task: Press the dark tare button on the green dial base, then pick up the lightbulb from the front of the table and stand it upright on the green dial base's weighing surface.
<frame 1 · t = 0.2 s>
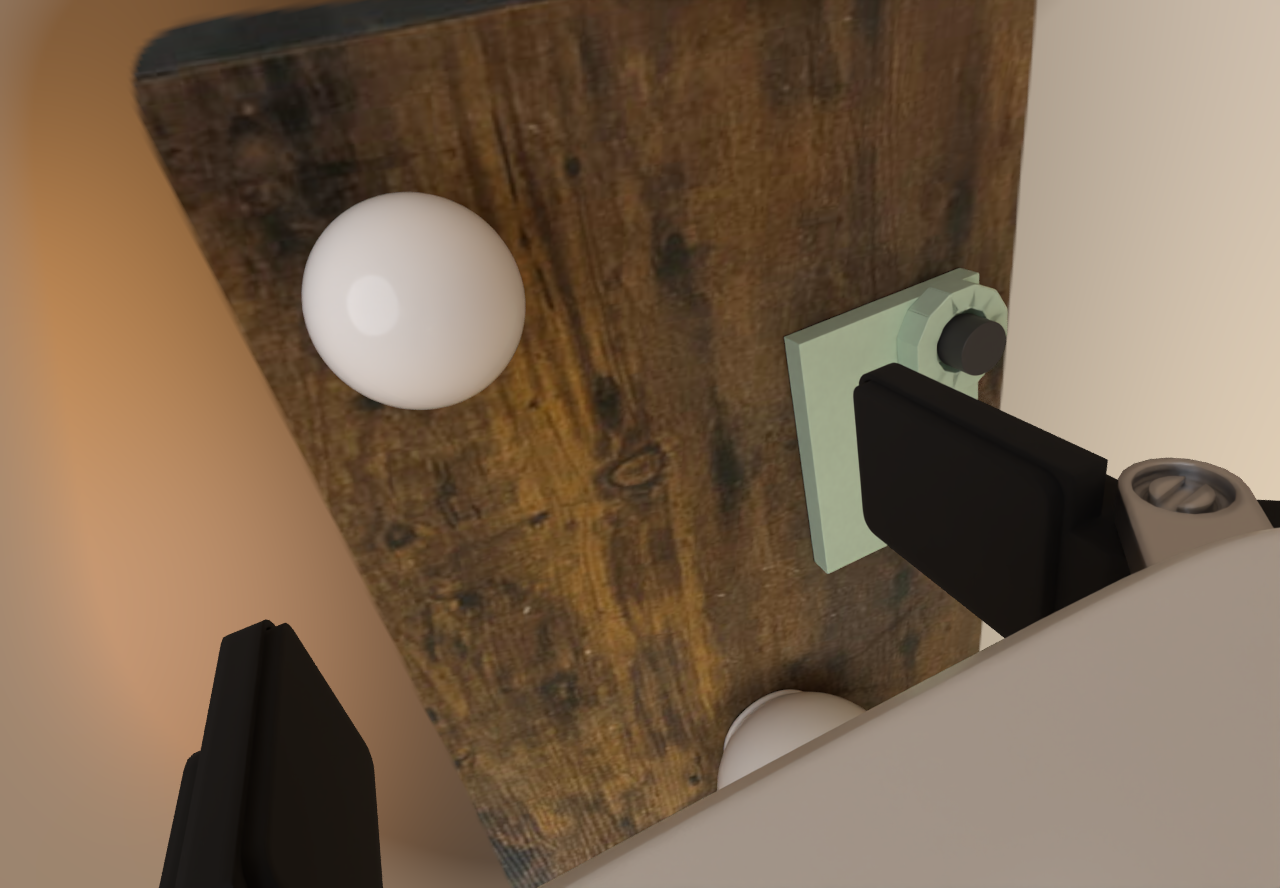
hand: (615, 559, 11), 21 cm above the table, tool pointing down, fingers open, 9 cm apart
lidded bowl: (769, 729, 49), on the table
green dial base: (882, 423, 42), on the table
tare button: (971, 344, 37), point 4 cm above the table, slide at 0.1 cm
lightbulb: (395, 254, 29), on the table
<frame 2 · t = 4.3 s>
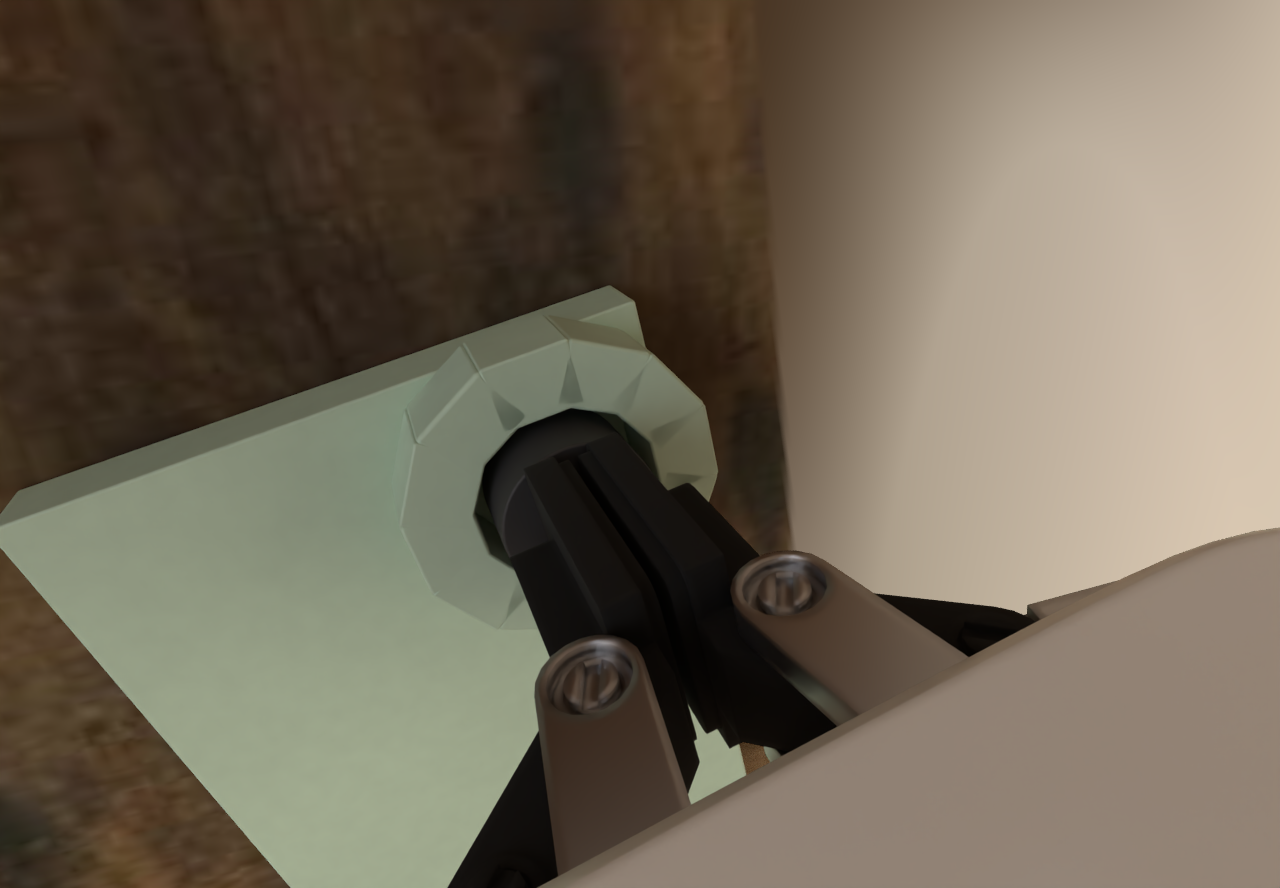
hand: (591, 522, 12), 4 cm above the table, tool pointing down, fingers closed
green dial base: (473, 657, 17), on the table
tare button: (569, 494, 13), point 3 cm above the table, slide at -0.5 cm, touching gripper
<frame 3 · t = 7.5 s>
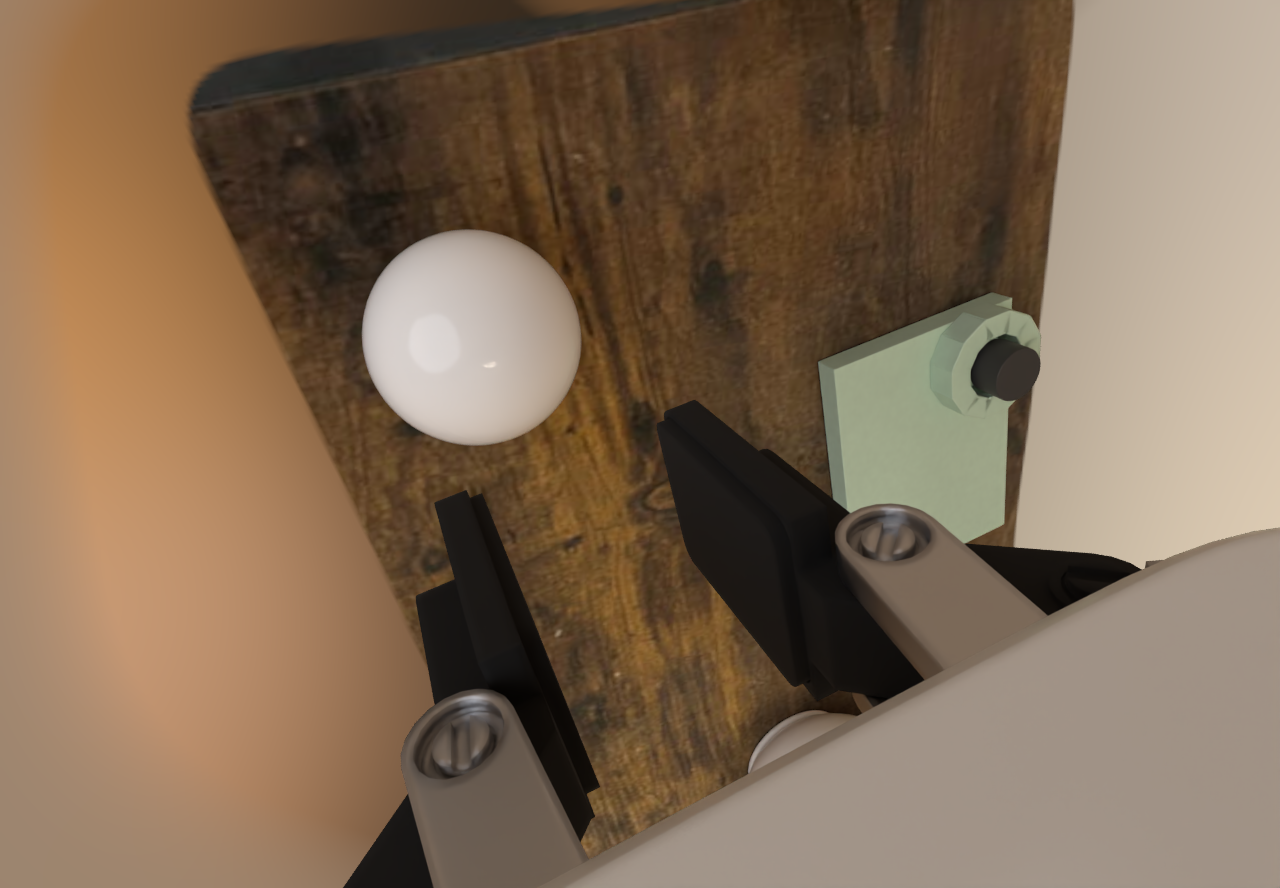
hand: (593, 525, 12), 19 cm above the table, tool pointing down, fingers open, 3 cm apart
lidded bowl: (793, 749, 49), on the table
green dial base: (912, 446, 42), on the table
tare button: (1004, 369, 37), point 4 cm above the table, slide at 0.1 cm
lightbulb: (439, 282, 29), on the table
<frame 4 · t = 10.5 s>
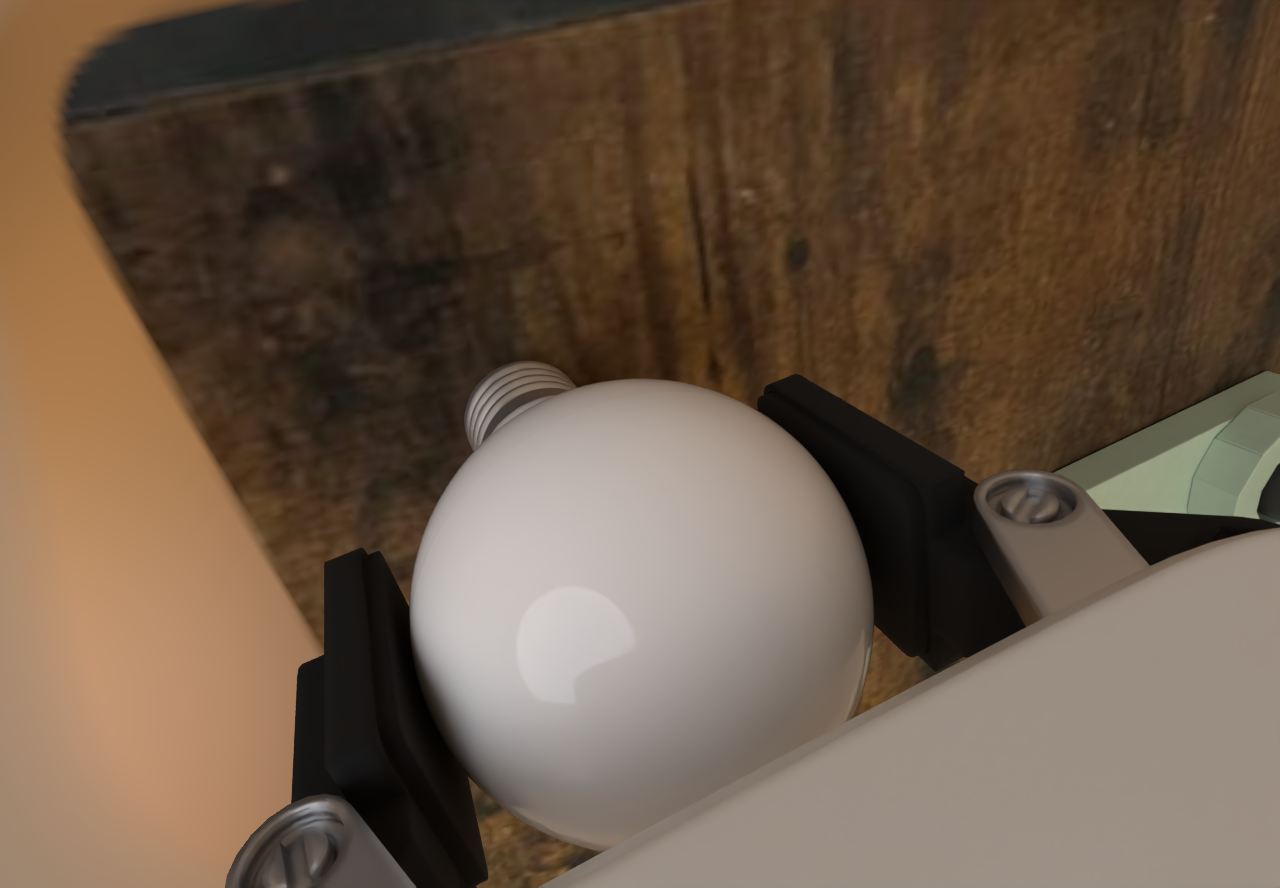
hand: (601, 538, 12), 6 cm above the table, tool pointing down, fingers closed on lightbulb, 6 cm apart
green dial base: (1134, 576, 30), on the table
lightbulb: (515, 403, 17), on the table, touching gripper
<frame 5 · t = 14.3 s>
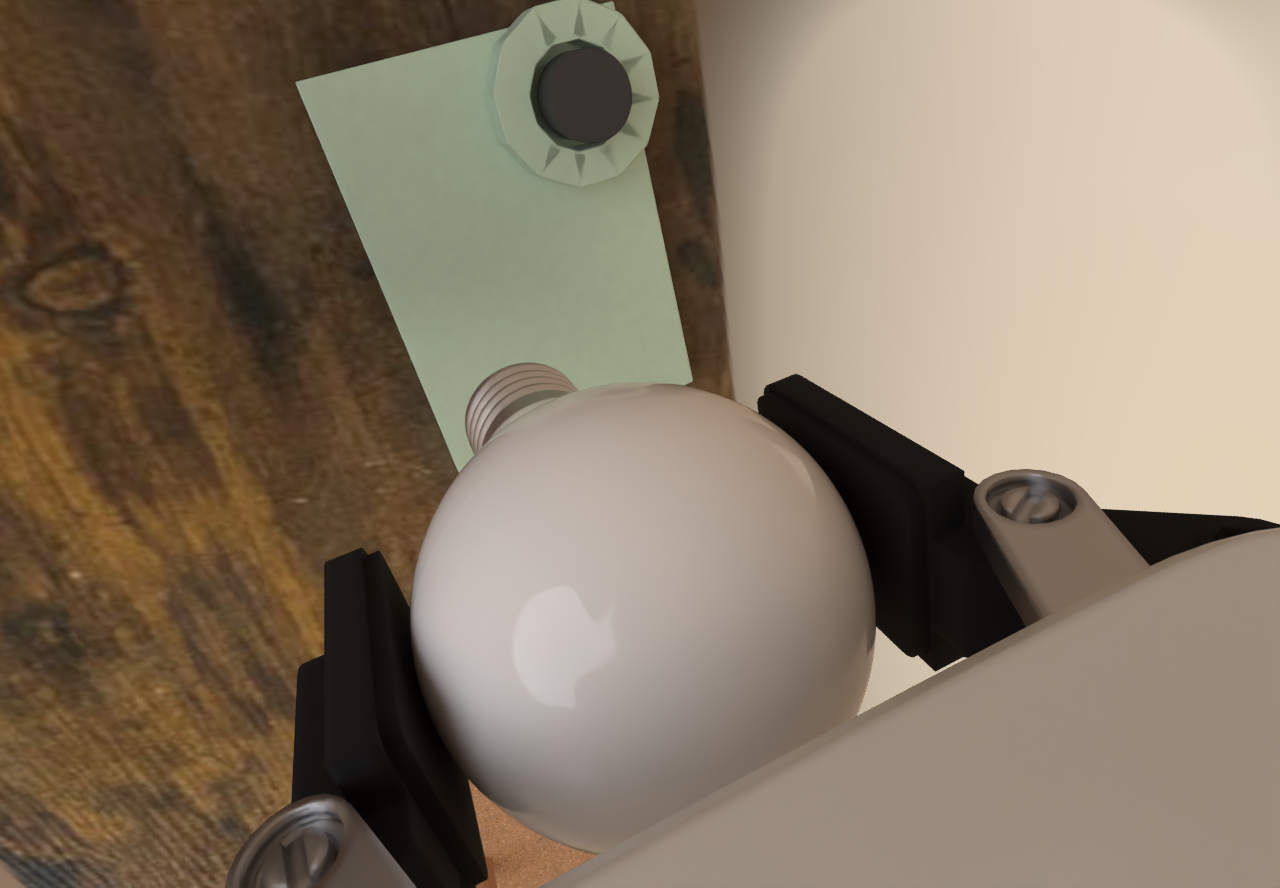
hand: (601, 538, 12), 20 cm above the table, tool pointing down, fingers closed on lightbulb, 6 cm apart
lidded bowl: (444, 700, 37), on the table
green dial base: (521, 251, 29), on the table
tare button: (584, 96, 24), point 4 cm above the table, slide at 0.1 cm
lightbulb: (516, 405, 17), point 13 cm above the table, touching gripper
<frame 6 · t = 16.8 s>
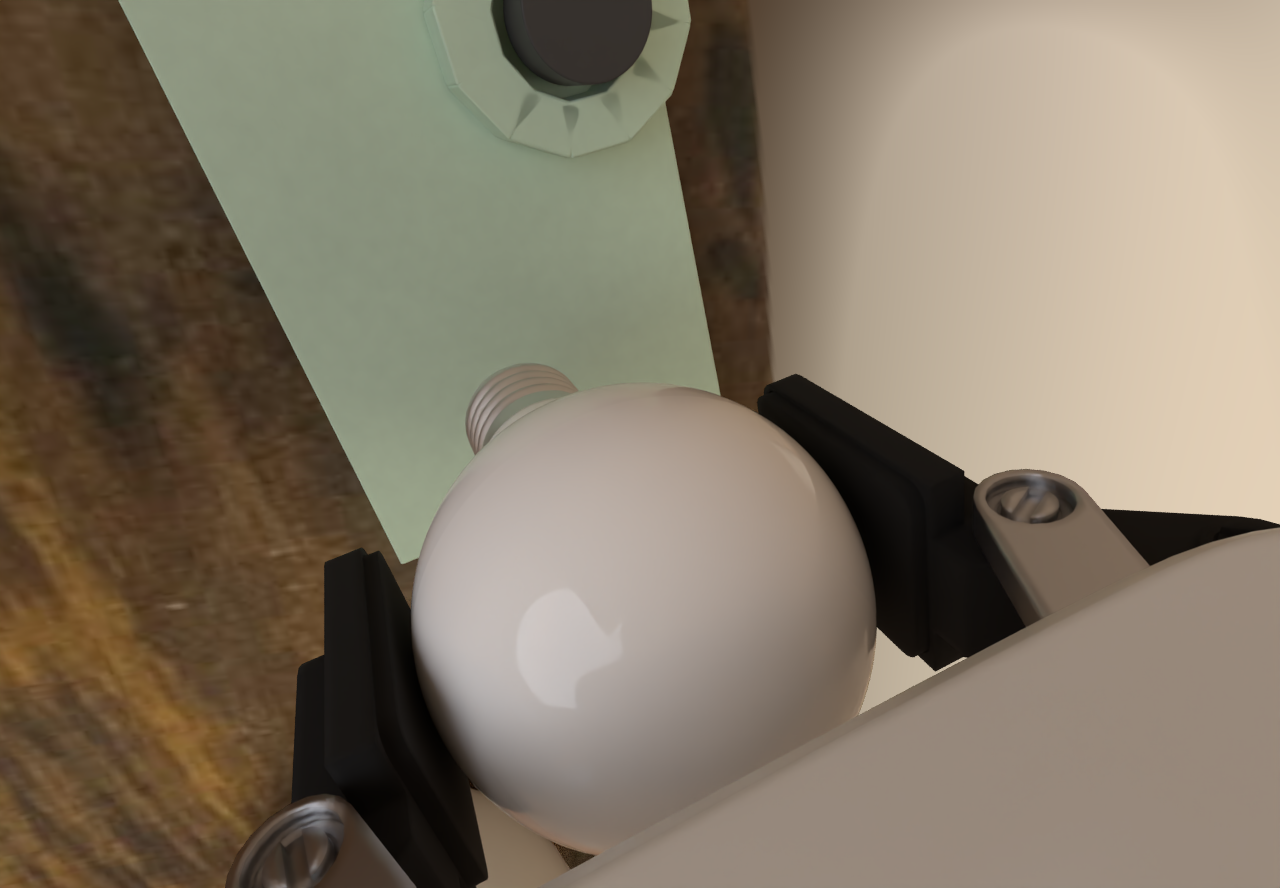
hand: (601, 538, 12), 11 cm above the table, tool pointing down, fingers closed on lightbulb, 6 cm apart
lidded bowl: (395, 842, 28), on the table
green dial base: (487, 254, 20), on the table
tare button: (576, 12, 15), point 4 cm above the table, slide at 0.1 cm
lightbulb: (516, 405, 17), point 5 cm above the table, touching gripper
when the fingers open (7 cm above the table, at t = 18.5 s): lightbulb stays where it is, resting on green dial base.
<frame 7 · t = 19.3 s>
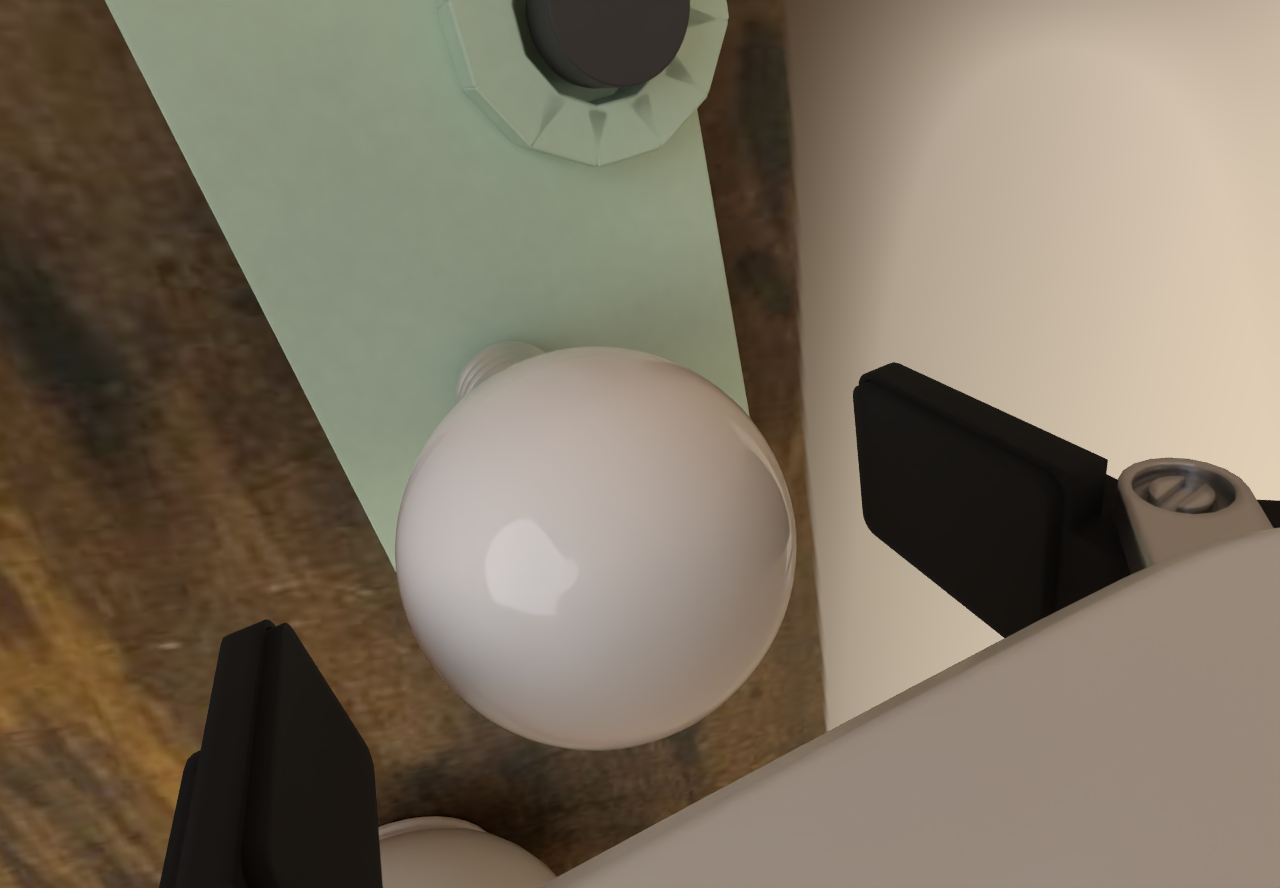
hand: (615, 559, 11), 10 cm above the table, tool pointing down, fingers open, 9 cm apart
lidded bowl: (401, 885, 27), on the table
green dial base: (503, 269, 19), on the table
tare button: (606, 7, 14), point 4 cm above the table, slide at 0.1 cm
lightbulb: (502, 381, 19), point 1 cm above the table, touching green dial base
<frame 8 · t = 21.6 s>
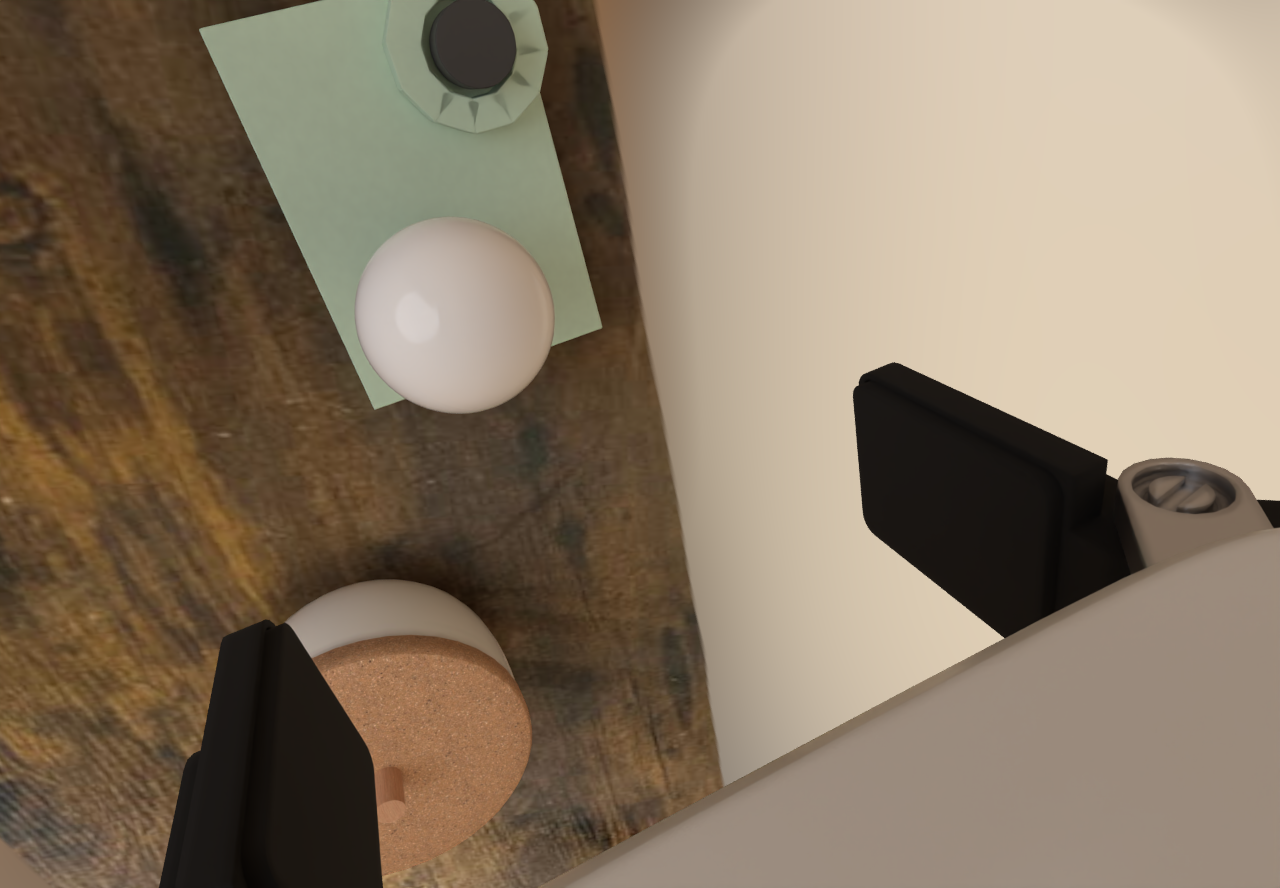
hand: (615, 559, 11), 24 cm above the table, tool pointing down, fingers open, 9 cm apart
lidded bowl: (374, 636, 39), on the table
green dial base: (429, 199, 31), on the table
tare button: (472, 45, 26), point 4 cm above the table, slide at 0.1 cm
lightbulb: (429, 267, 31), point 1 cm above the table, touching green dial base
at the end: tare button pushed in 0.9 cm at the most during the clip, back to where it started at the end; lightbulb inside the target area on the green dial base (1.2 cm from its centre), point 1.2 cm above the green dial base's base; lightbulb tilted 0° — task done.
